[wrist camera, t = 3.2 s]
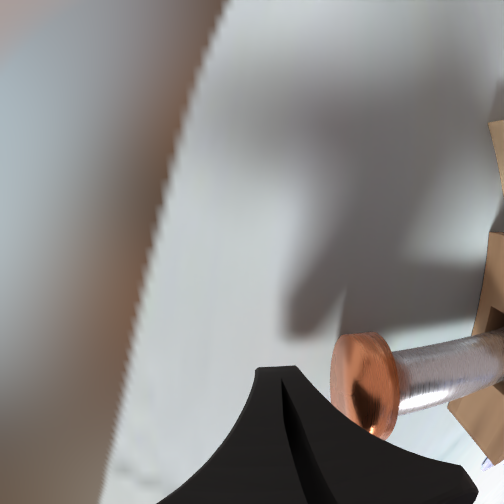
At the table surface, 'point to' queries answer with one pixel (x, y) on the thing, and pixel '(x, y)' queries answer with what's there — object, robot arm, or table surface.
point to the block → (498, 145)
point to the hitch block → (500, 394)
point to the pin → (409, 376)
